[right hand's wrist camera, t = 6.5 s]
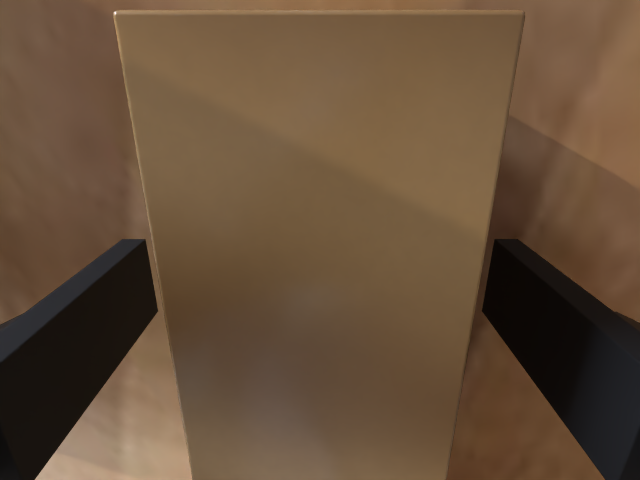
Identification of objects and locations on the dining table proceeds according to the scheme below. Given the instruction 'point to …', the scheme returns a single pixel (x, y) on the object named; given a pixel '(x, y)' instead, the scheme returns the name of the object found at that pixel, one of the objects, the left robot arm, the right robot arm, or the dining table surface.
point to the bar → (319, 226)
